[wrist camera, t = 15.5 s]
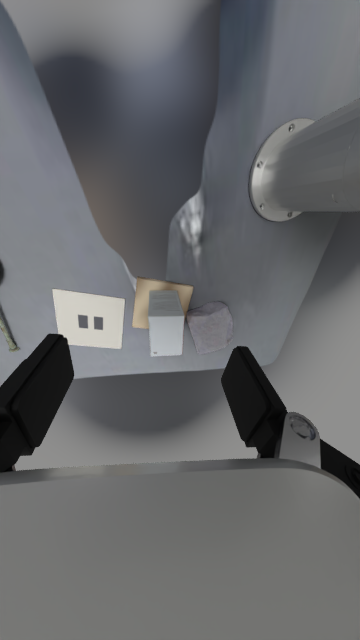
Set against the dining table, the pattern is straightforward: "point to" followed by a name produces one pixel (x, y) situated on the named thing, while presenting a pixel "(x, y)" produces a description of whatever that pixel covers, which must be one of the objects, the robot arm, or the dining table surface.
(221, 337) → the stone block
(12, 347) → the soupspoon
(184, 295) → the wooden board
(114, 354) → the dining table surface
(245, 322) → the dining table surface
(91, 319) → the cream tile
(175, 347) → the small box
